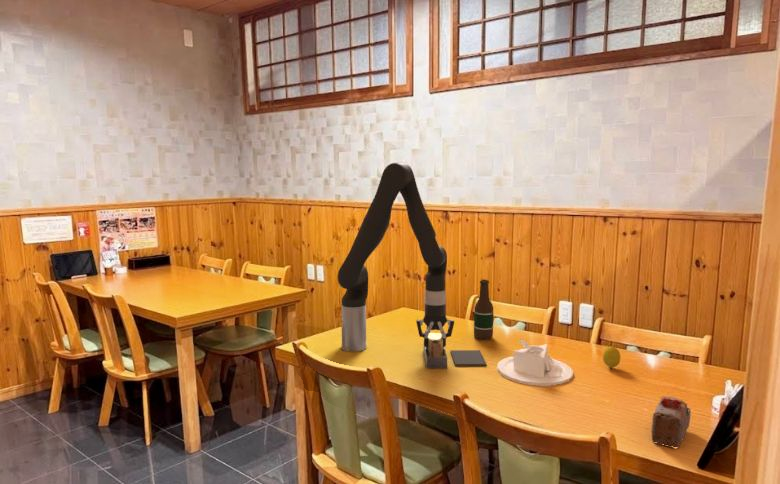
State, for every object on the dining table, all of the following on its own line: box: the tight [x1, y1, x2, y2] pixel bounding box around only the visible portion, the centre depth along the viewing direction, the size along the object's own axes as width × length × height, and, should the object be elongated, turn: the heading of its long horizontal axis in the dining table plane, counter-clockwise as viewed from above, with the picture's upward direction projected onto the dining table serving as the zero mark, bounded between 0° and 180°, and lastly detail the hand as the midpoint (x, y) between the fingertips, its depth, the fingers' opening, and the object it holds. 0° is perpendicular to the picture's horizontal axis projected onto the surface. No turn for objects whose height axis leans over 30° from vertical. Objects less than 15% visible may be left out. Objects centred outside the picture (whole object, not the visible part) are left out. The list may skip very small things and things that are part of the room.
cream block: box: [428, 332, 443, 352], centre depth 188 cm, size 5×8×4 cm, turn 0°
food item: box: [651, 396, 691, 449], centre depth 134 cm, size 14×8×10 cm, turn 146°
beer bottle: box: [473, 279, 494, 341], centre depth 212 cm, size 8×8×24 cm
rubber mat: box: [449, 349, 488, 367], centre depth 189 cm, size 11×14×1 cm
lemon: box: [602, 345, 621, 369], centre depth 179 cm, size 6×6×8 cm
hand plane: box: [423, 343, 448, 370], centre depth 189 cm, size 18×7×8 cm, turn 0°
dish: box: [497, 339, 574, 387], centre depth 177 cm, size 25×25×11 cm
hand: (434, 347), depth 189 cm, fingers open, 5 cm apart
